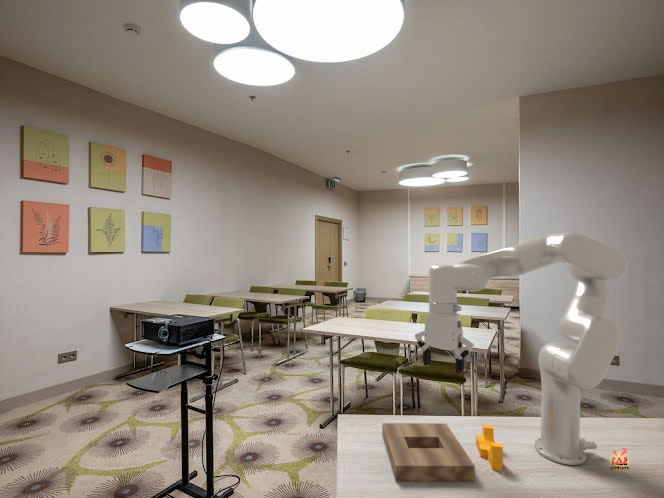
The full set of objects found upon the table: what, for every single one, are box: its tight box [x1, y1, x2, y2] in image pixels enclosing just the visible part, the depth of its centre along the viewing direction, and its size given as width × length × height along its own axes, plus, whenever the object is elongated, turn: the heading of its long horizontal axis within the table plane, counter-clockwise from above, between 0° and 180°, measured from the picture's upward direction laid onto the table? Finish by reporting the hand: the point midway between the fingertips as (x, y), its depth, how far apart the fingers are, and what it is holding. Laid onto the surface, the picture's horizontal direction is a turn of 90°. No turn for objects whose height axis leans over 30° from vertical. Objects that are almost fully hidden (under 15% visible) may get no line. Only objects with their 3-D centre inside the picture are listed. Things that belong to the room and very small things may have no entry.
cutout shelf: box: [381, 422, 476, 483], centre depth 103 cm, size 20×22×4 cm
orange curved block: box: [475, 424, 504, 472], centre depth 103 cm, size 12×4×6 cm, turn 169°
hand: (442, 368), depth 104 cm, fingers open, 9 cm apart
